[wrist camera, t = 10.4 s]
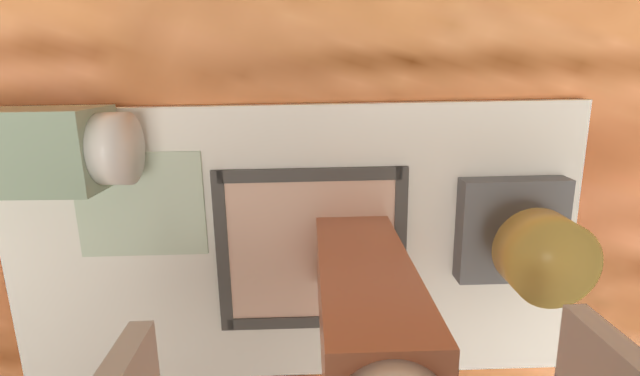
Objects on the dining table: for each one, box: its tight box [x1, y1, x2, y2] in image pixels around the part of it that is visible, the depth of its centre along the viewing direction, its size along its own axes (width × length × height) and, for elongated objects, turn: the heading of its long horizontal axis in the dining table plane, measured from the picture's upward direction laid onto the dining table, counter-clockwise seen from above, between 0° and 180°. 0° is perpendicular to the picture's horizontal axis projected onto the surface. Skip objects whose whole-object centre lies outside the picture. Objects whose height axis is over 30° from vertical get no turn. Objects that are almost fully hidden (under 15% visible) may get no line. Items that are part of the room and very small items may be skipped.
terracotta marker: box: [316, 216, 460, 376], centre depth 17 cm, size 3×3×12 cm
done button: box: [492, 208, 603, 309], centre depth 19 cm, size 4×4×2 cm
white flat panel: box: [0, 99, 592, 376], centre depth 23 cm, size 28×14×2 cm, turn 91°
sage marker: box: [0, 104, 145, 201], centre depth 20 cm, size 10×3×3 cm, turn 91°
